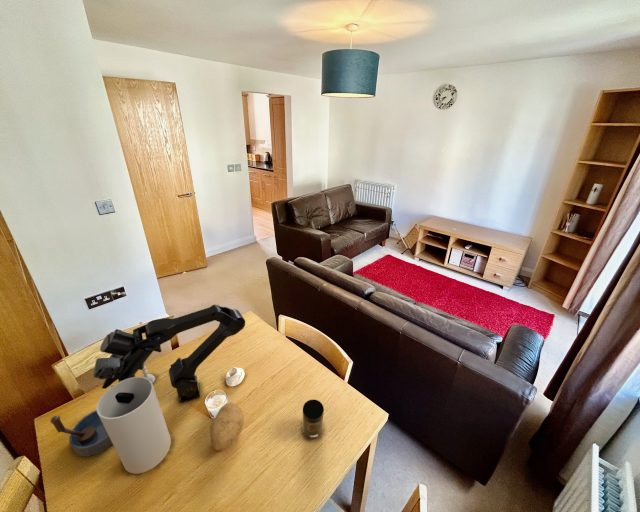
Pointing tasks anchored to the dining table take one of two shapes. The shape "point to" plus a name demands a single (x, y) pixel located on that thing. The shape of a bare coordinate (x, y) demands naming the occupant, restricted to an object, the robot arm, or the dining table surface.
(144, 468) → the cylinder vase
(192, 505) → the dining table surface
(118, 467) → the dining table surface
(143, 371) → the chalice
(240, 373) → the whipped cream
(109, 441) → the bowl
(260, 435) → the dining table surface
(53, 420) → the ladle
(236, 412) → the potato
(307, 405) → the supplement container
